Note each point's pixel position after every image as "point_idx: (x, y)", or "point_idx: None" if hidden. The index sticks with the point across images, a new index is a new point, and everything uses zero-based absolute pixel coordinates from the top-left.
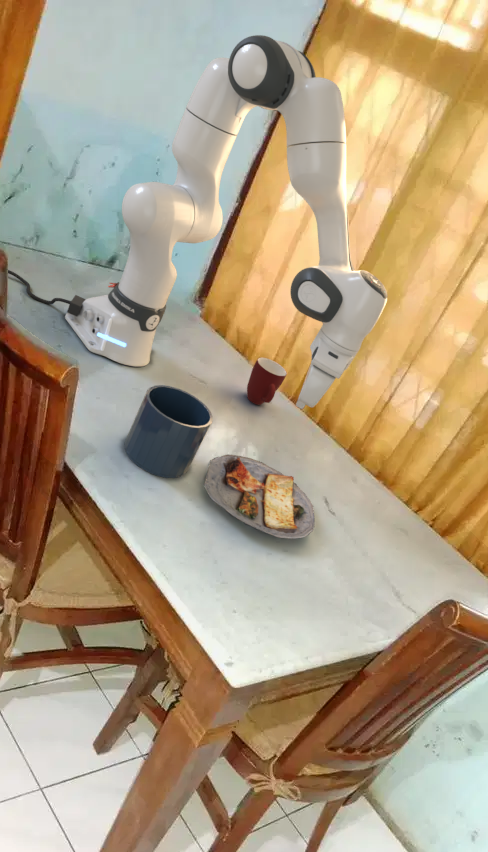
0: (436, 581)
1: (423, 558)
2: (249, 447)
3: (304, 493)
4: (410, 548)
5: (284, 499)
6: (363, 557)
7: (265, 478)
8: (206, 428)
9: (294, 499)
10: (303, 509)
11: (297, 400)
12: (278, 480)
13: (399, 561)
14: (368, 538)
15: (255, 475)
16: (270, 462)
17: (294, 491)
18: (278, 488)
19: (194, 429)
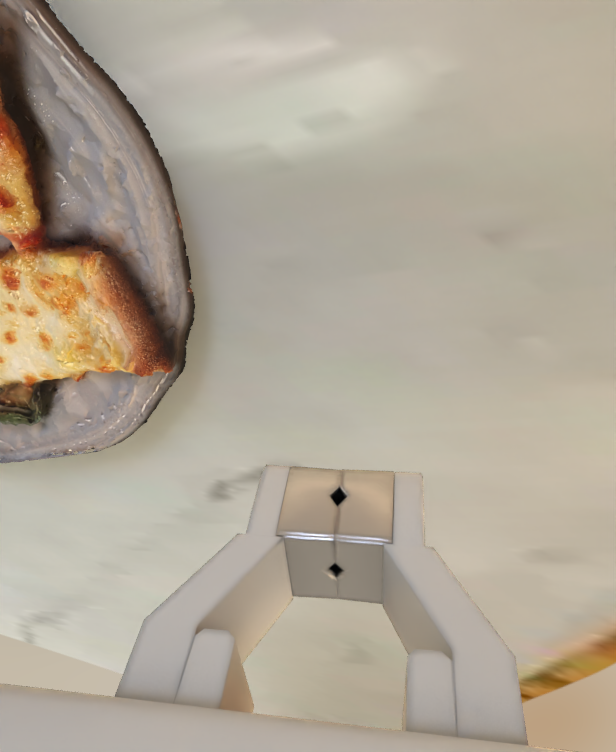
0: None
1: (273, 679)
2: (373, 71)
3: (142, 417)
4: (285, 661)
5: (28, 347)
6: (92, 565)
7: (92, 241)
8: None
9: (90, 380)
10: (26, 423)
11: (358, 481)
12: (106, 307)
13: None
14: None
15: (80, 186)
16: (331, 227)
17: (130, 377)
18: (60, 314)
19: None
